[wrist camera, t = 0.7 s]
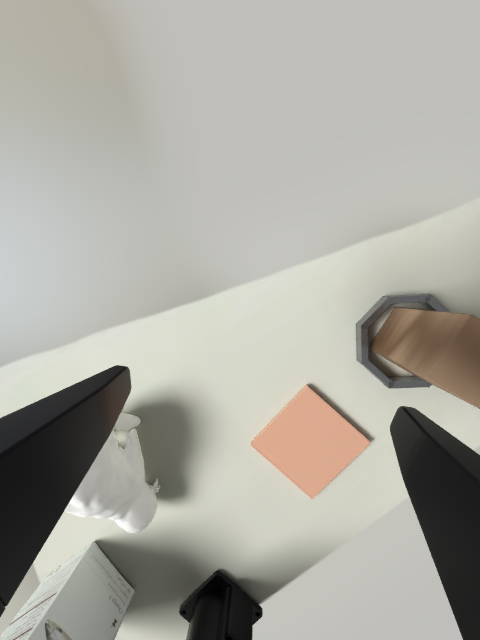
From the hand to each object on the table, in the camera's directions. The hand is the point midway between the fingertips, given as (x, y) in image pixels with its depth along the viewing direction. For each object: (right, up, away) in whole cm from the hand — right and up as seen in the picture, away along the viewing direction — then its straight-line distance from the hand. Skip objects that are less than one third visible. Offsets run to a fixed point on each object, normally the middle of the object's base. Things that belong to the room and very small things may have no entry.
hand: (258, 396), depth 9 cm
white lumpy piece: (-12, -11, +19) cm, 25 cm away
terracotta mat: (+6, -9, +17) cm, 21 cm away
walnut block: (+14, +1, +16) cm, 21 cm away
